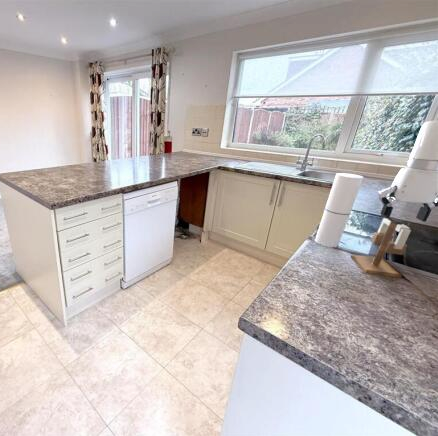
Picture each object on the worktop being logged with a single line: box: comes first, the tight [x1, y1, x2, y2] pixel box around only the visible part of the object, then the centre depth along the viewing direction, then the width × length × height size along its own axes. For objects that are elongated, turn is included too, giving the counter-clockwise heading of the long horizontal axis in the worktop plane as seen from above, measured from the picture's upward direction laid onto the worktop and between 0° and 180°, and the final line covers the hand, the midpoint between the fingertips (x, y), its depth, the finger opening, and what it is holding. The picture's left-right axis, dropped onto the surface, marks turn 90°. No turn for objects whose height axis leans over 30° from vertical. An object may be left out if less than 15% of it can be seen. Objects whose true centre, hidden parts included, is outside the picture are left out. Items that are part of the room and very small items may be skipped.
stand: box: [350, 216, 404, 279], centre depth 72 cm, size 9×9×16 cm
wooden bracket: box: [370, 217, 412, 256], centre depth 82 cm, size 5×10×11 cm, turn 166°
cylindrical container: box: [314, 172, 364, 248], centre depth 85 cm, size 7×7×25 cm
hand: (402, 218), depth 79 cm, fingers open, 9 cm apart
